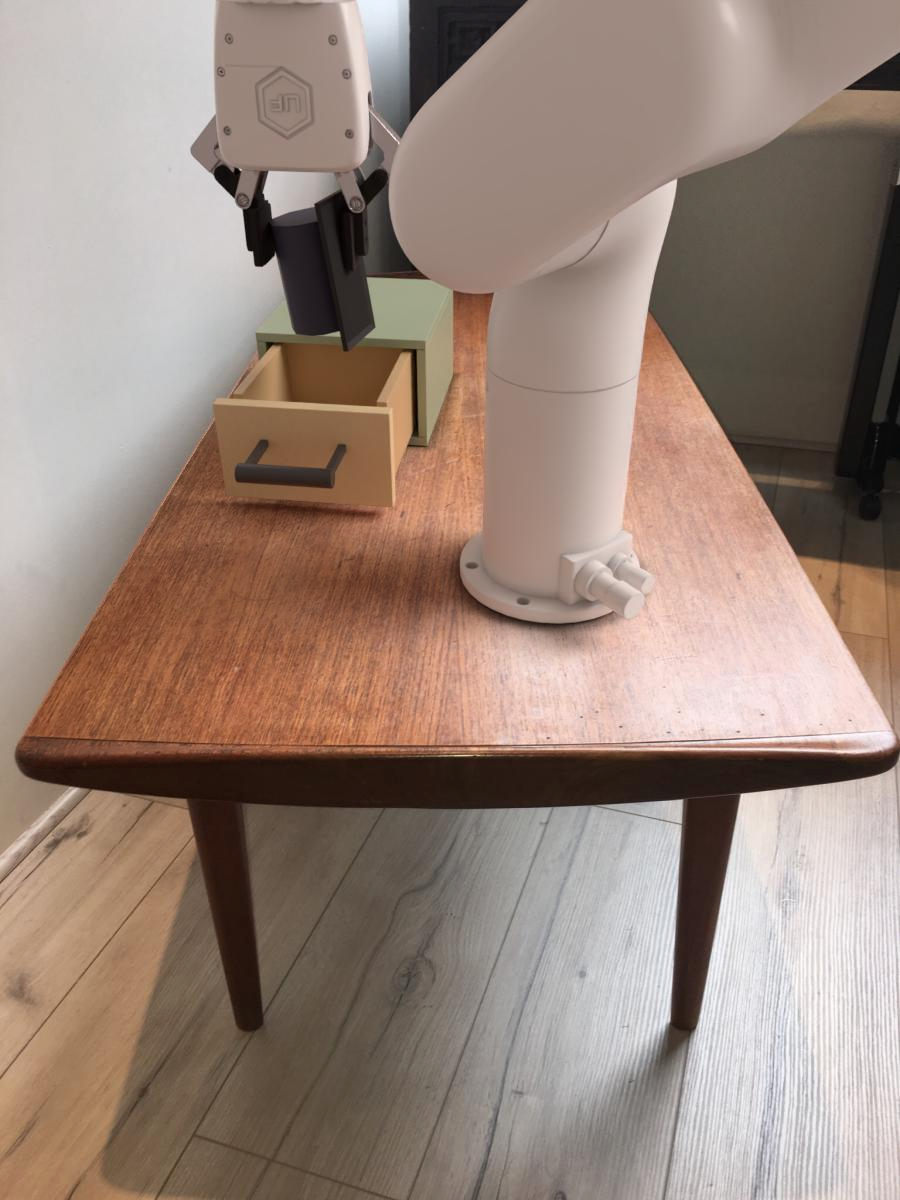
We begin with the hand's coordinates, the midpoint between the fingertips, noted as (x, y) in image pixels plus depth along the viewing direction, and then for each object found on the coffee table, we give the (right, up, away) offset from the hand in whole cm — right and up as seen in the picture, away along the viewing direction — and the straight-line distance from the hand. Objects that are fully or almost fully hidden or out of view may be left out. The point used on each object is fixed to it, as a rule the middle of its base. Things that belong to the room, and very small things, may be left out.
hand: (309, 261), depth 73 cm
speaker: (+1, -4, +3) cm, 6 cm away
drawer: (0, -14, +9) cm, 17 cm away
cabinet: (+2, -6, +22) cm, 23 cm away
